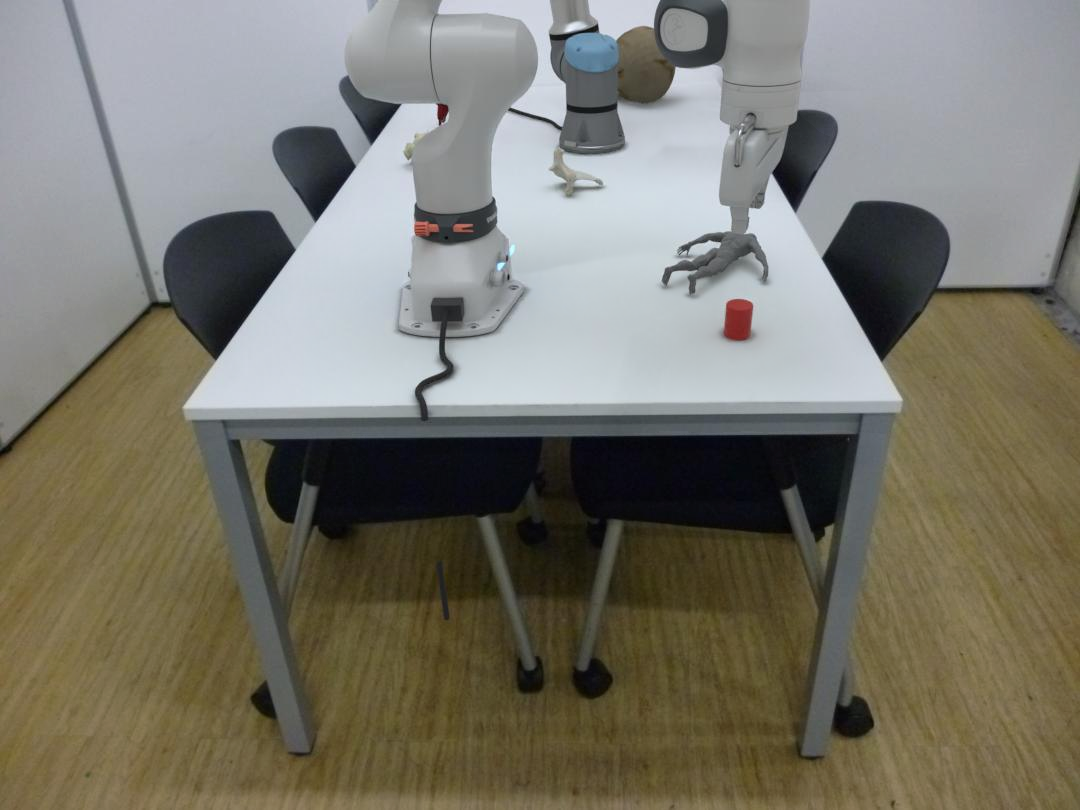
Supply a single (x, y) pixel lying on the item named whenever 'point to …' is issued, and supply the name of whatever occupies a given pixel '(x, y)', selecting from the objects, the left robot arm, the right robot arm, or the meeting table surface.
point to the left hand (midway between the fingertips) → (747, 219)
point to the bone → (569, 172)
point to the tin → (738, 319)
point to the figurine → (717, 256)
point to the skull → (642, 66)
